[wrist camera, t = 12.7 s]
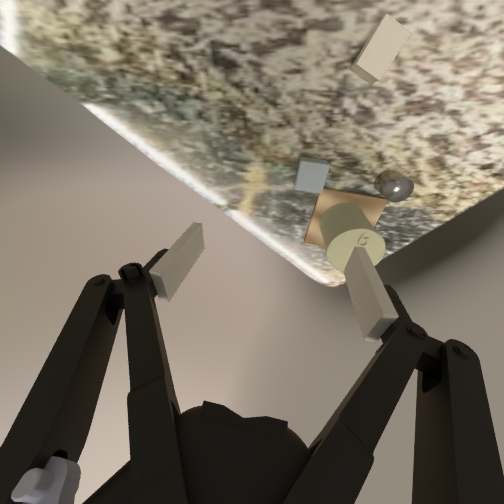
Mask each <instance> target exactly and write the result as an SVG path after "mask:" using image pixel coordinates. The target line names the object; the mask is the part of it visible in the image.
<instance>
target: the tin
mask: <svg viewBox="0 0 504 504" xmlns="http://www.w3.org/2000/svg"><path fill="white" fill-rule="evenodd" d="M374 186H375V188H376V190H378V191H379V192H380V193H381V194H382V195H383V196H385V197H386V198H387V199H388V200H389V201H391V202H400V201H403V200H405V199H407V198H408V197H409V196H410V195H411V194H412V192H413V189H414V184H413V182H412V181H411V180H410V179H408V178H406V177H404V176H402V175H400V174H398V173H396V172H395V171H392V170H388V171H384V172H382V173H381V174H379V175H378V176H377V178H376V179H375V182H374Z"/></svg>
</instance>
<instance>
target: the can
mask: <svg viewBox="0 0 504 504" xmlns="http://www.w3.org/2000/svg"><path fill="white" fill-rule="evenodd" d="M319 227H320V231H321V233H322V236H323V241H324V245H325V250H326V257H327V260H328V262H329V264H330V265H331V266H332V267H333V268H335V269H336V270H338V271H341V272H344V269H345V267H346V264H347V262H348V260H349V258H350V256H351V254H352V251H353V249H354V247H355V246H358V247H365V249H366V251H367V253H368V255H369V257H370V259H371V261H372V263H373V265H374V266H375V265H376V264H377V263H379V261H380V260H381V259H382V258H383V256H384V253H385V242H384V240H383V238H382V237H381V236H380V235H379V234H378V232H377V231H376V230H375V228H374V227H373V226H372V224H371V223H370V222H369V220H368V219H367V217H366V216H365V214H364V212H363V210H362V209H361V208H360V207H358V206H357V205H355V204H351V203H341V204H337V205H334V206H332V207H331V208H329V209H328V210H327V211H326V212H325V213H324V214H323V216H322V217H321V220H320V224H319Z"/></svg>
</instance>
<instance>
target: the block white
mask: <svg viewBox="0 0 504 504" xmlns="http://www.w3.org/2000/svg"><path fill="white" fill-rule="evenodd" d="M410 35H411V32H410V31H409V30H407V29H406V28H405V27H403V26H402V25H401V24H400V23H398V22H397V21H396V20H394V19H393V18H392V17H390V16H389V15H388V14H385V16H384V17H383V18H382V19H381V20H380V21H379V22H378V24H377V25H376V26H375V28H374V29H373V31H372V33H371V34H370V36H369V38H368V40H367V41H366V43H365V45H364V46H363V48H362V50H361V51H360V53H359V55H358V56H357V58H356V60H355V62H354V63H353V65H352V67H351V68H350V70H351V71H352V72H354V73H355V74H357V75H358V76H359V77H361V78H362V79H364V80H365V81H367V82H368V83H369V84H372V83H375V82H377V81H379V80H380V79H381V77H382V76H383V74H384V73H385V71H386V70H387V68H388V67H389V65H390V64H391V62H392V61H393V60H394V58H395V57H396V55H397V54H398V52H399V51H400V49H401V48H402V46H403V45H404V43H405V42H406V40H407V39H408V37H409V36H410Z"/></svg>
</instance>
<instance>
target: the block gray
mask: <svg viewBox="0 0 504 504" xmlns="http://www.w3.org/2000/svg"><path fill="white" fill-rule="evenodd" d="M329 168H330V164H329V163H328V161H327V160H322V159H315V158H308V157H301V156H300V161H299V165H298V170H297V174H296V178H295V190H300V191H306V192H313V193H319V194H322V190H323V187H324V184H325V181H326V178H327V174H328V171H329Z"/></svg>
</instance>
